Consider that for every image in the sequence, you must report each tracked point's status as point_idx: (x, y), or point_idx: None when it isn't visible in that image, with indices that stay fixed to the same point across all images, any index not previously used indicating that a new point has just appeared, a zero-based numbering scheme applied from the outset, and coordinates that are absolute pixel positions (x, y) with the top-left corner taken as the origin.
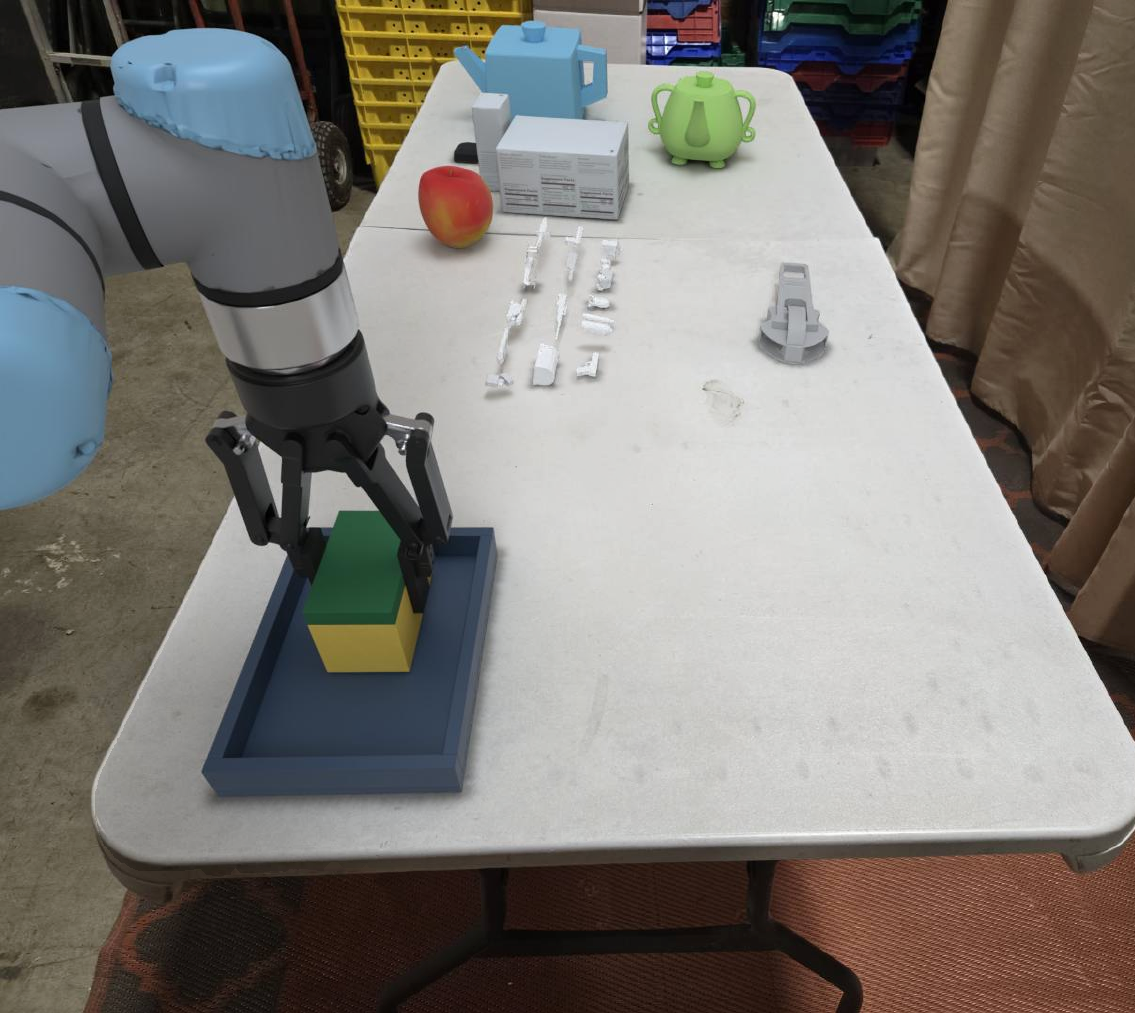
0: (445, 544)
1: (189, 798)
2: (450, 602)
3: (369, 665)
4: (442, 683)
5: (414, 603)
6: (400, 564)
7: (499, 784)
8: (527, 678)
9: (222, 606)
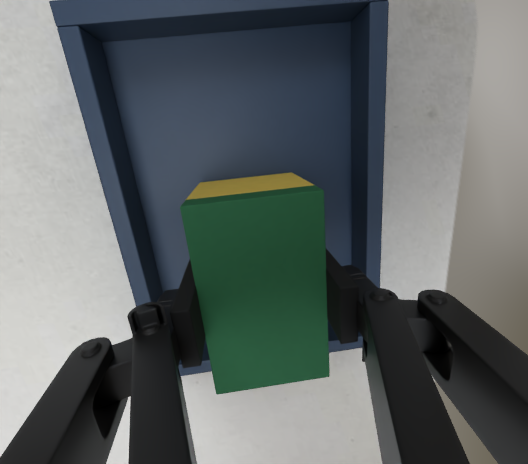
0: None
1: (390, 3)
2: None
3: (242, 179)
4: (157, 172)
5: None
6: (190, 295)
7: (43, 43)
8: (70, 196)
9: (423, 248)
